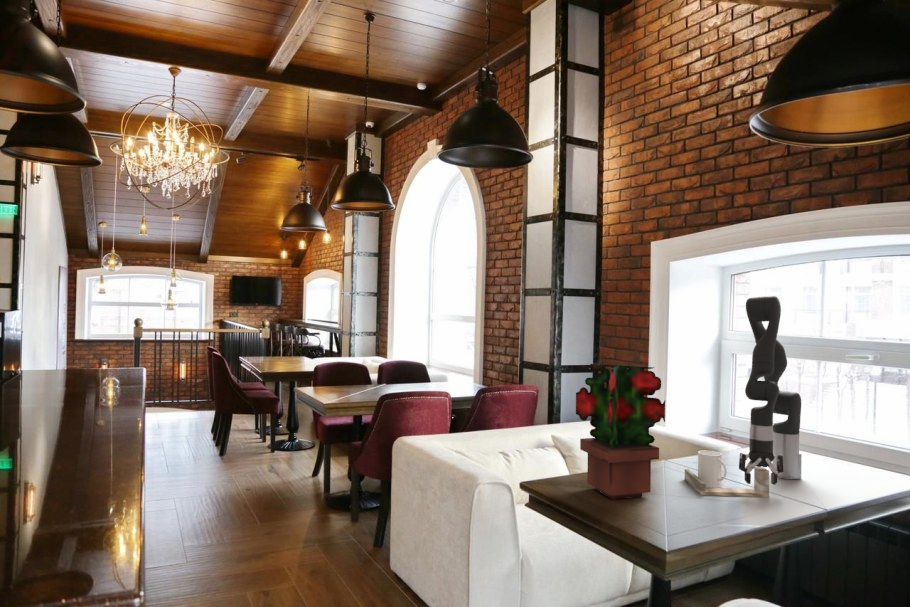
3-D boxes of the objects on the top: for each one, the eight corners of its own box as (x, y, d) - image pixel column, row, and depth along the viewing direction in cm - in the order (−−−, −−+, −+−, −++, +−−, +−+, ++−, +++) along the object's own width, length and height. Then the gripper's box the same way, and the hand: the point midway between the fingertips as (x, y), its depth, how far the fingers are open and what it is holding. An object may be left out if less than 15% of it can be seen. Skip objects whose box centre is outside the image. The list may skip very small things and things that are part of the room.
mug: (733, 490, 223) (734, 456, 223) (714, 492, 220) (714, 458, 220) (710, 481, 234) (710, 449, 234) (692, 483, 231) (692, 450, 231)
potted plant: (664, 500, 211) (665, 368, 211) (606, 505, 204) (607, 369, 204) (628, 482, 232) (629, 362, 232) (575, 486, 226) (576, 363, 226)
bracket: (746, 481, 233) (746, 457, 233) (769, 496, 214) (769, 470, 214) (684, 479, 235) (684, 455, 235) (701, 494, 216) (701, 469, 216)
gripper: (777, 436, 220) (776, 481, 220) (736, 434, 221) (735, 480, 221) (787, 440, 213) (786, 487, 213) (744, 439, 214) (744, 486, 214)
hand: (760, 483), depth 217 cm, fingers open, 8 cm apart
